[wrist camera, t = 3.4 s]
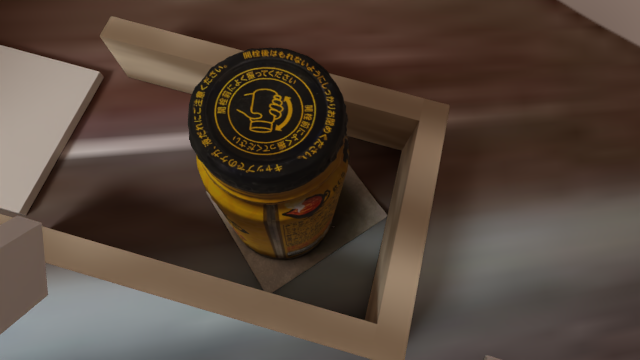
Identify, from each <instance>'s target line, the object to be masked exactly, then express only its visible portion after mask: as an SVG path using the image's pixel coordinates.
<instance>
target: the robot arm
mask: <svg viewBox="0 0 640 360" xmlns="http://www.w3.org/2000/svg"><path fill="white" fill-rule="evenodd" d="M47 295H48V290H47V279H46V267H45V256H44V244H43V233H42V223H40V222H37V221H33V220H30V219H27V218H23V217H20V216H16V217H14V218H12V219H10V220H9V221H7V222H5V223H3V224H1V225H0V334H1V333H3V332H4V331H5V330H6V329H7V328H9V327H10V326H11V325H12V324H13V323H15V322H16V321H17V320H18V319H19V318H21V317H22V316H23V315H24V314H25V313H27V312H28V311H29V310H30V309H32V308H33V307H34V306H35V305H36V304H38V303H39V302H40V301H41V300H42V299H44V298H45V297H46V296H47ZM483 360H501V359H497V358H494V357H491V356H487V355H486V356H485V358H484V359H483Z"/></svg>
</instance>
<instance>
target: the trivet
mask: <svg viewBox="0 0 640 360" xmlns="http://www.w3.org/2000/svg"><path fill="white" fill-rule="evenodd" d="M103 78H104V77H103V75H102V74H101V73H100V72H99V71H95V70H91V69H87V68H84V67H80V66H76V65H73V64H69V63H65V62H62V61H58V60H54V59H50V58H47V57H43V56H39V55H36V54H32V53H28V52H24V51H21V50H17V49H13V48H10V47H6V46H2V45H0V208H1V209H4V210H8V211H11V212H15V213H18V214H21V215H25V216H26V214H27V213H28V211H29V209H30V207H31V206H32V204H33V202H34V200H35V198H36V197H37V195H38V193H39V191H40V190H41V188H42V186H43V184H44V183H45V181H46V179H47V177H48V175H49V174H50V172H51V170H52V168H53V167H54V165H55V163H56V161H57V160H58V158H59V156H60V154H61V152H62V151H63V149H64V147H65V145H66V144H67V142H68V140H69V138H70V137H71V135H72V133H73V131H74V129H75V128H76V126H77V124H78V122H79V121H80V119H81V117H82V115H83V114H84V112H85V110H86V108H87V106H88V105H89V103H90V101H91V99H92V98H93V96H94V94H95V92H96V91H97V89H98V87H99V85H100V83H101V82H102V80H103Z"/></svg>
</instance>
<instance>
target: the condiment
mask: <svg viewBox="0 0 640 360" xmlns="http://www.w3.org/2000/svg"><path fill="white" fill-rule="evenodd" d="M347 122H348V117H347V113H346V105H345V103H344V98H343V95H342V93H341V91H340V89H339V87H338V85H337V84H336V82H335V81H334V80H333V78H332V77H331V76H330V74H329V73H328V72H327V71H326V70H325V69H324V68H323V67H322V66H321V65H320V64H318V63H317V62H315V61H314V60H313V59H311V58H310V57H308V56H306V55H303V54H300V53H297V52H294V51H291V50H288V49H283V48H260V49H248V50H246V51H242V52H239V53H237V54H234V55H232V56H229V57H227V58H226V59H225V60H223V61H221V62H219V63H217V64H216V65H215V66H213V67H211V68H210V70H209V71H208V73H207V74H206V75H205V77H204V78H203V79H202V80H201V82H200V83H199V84H198V85H197V86H195V88H194V90H193V93H192V96H191V99H190V103H189V114H188V127H189V140H190V143H191V146H192V148H193V149H194V151H195V152H196V160H197V166H198V170H199V173H200V176H201V179H202V181H203V184H204V186H205V188H206V193H207V195H208V196H209V198H210V200H211V202H212V203H213V205H214V207H215V209H216V210H217V212H218V213H219V215H220V217H221V218H222V220H223V222H224V223H225V225H226V227H227V229H228V230H229V232H230V234H231V235H232V237H233V239H234V240H235V242H236V244H237V246H238V247H239V249H240V251H241V252H242V254H243V256H244V257H245V259H246V261H247V262H248V264H249V266H250V268H251V270H252V271H253V272H254V274H255V276H256V278H257V280H258V281H259V283H260V285H261V286H262V288H263V290H264V291H265V292H269V293H272V292H274V291H275V290H277V289H278V288H280V287H282V286H283V285H285V284H286V283H288V282H289V281H291V280H292V279H294V278H295V277H297V276H298V275H300V274H301V273H303V272H304V271H306V270H307V269H309V268H310V267H312V266H314V265H315V264H316V263H318V262H319V261H321V260H323V259H324V258H325V257H327V256H328V255H330V254H332V253H333V252H334V251H336V250H337V249H339V248H340V247H342V246H343V245H345V244H346V243H348V242H350V241H351V240H353V239H354V238H356V237H357V236H359V235H360V234H362V233H363V232H365V231H366V230H368V229H369V228H370V227H372V226H373V225H375V224H377V223H378V222H380V221H381V220H383V219H384V218H386V217H387V214H386V213H385V212H384V210H383V209H382V208H381V206H380V205H379V204H378V203H377V202H376V200H375V199H374V197H373V196H372V195H371V194H370V192H369V191H368V189H367V188H366V187H365V185H364V184H363V183H362V182H361V180H360V179H359V178H358V176H357V175H356V173H355V172H354V171H353V169H352V168H351V167H350V165H349V164H348V162H349V144H348V138H347V133H346V132H347ZM332 226H335V227H334V228H333V227H332Z"/></svg>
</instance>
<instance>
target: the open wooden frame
mask: <svg viewBox="0 0 640 360" xmlns="http://www.w3.org/2000/svg"><path fill="white" fill-rule="evenodd" d="M100 37H101V39H102V40H103V41H104V43H105V44H106V46H107V47H108V49H109V50H110V51H111V53H112V54H113V56H114V57H115V59H116V60H117V61H118V63H119V64H120V66H121V67H122V69H123V70H124V72H125V73H126V74H127V76H128V77H131V78H134V79H138V80H142V81H145V82H149V83H153V84H157V85H160V86H164V87H168V88H171V89H175V90H179V91H183V92H186V93H190V94H192V93H193V90H194V88H195V86H197V85H198V84H199V83H200V82H201V80H202V79H203V78H204V77H205V75H206V74H207V73H208V71H209V70H210V68H211V67H213V66H215V65H216V64H217V63H219V62H221V61H223V60H225V59H226V58H227V57H229V56H232V55H234V54H237V53H239V52H242V50H238V49H234V48H230V47H227V46H223V45H219V44H215V43H211V42H208V41H204V40H200V39H196V38H192V37H188V36H185V35H181V34H177V33H173V32H169V31H166V30H162V29H158V28H154V27H150V26H147V25H143V24H139V23H135V22H131V21H127V20H124V19H120V18H116V17H112V16H111V18H110V19H109V21H108V23H107V24H106V26H105V28H104V29H103V31H102V33H101V34H100ZM330 76H331V77H332V78H333V80H334V81H335V82H336V84H337V85H338V87H339V89H340V91H341V93H342V95H343V98H344V103H345V105H346V113H347V117H348V122H347V132H346V133H347V136H350V137H353V138H357V139H361V140H364V141H368V142H372V143H376V144H379V145H383V146H387V147H390V148H394V149H398V150H401V151H402V152H401V157H400V161H399V166H398V170H397V175H396V179H395V184H394V188H393V193H392V197H391V202H390V207H389V211H388V216H387V220H386V225H385V229H384V234H383V238H382V243H381V247H380V252H379V257H378V261H377V266H376V270H375V275H374V279H373V284H372V288H371V293H370V297H369V302H368V307H367V311H366V316H365V320H361V319H358V318H354V317H351V316H348V315H344V314H341V313H337V312H334V311H330V310H327V309H324V308H320V307H317V306H313V305H310V304H306V303H303V302H300V301H296V300H293V299H289V298H286V297H282V296H279V295H276V294H272V293H269V292H265V291H262V290H258V289H255V288H252V287H248V286H245V285H241V284H238V283H234V282H231V281H228V280H224V279H221V278H217V277H214V276H210V275H207V274H204V273H200V272H197V271H193V270H190V269H186V268H183V267H180V266H176V265H173V264H169V263H166V262H163V261H159V260H156V259H152V258H149V257H145V256H142V255H139V254H135V253H132V252H128V251H125V250H121V249H118V248H115V247H111V246H108V245H104V244H101V243H97V242H94V241H91V240H87V239H84V238H80V237H77V236H73V235H70V234H67V233H63V232H60V231H56V230H53V229H49V228H46V227H43V226H42V233H43V244H44V256H45V263H48V264H52V265H55V266H58V267H62V268H65V269H69V270H72V271H75V272H79V273H82V274H85V275H89V276H92V277H96V278H99V279H102V280H106V281H109V282H112V283H116V284H119V285H123V286H126V287H129V288H133V289H136V290H139V291H143V292H146V293H150V294H153V295H156V296H160V297H163V298H166V299H170V300H173V301H177V302H180V303H183V304H187V305H190V306H193V307H197V308H200V309H204V310H207V311H210V312H214V313H217V314H220V315H224V316H227V317H231V318H234V319H237V320H241V321H244V322H247V323H251V324H254V325H258V326H261V327H264V328H268V329H271V330H274V331H278V332H281V333H285V334H288V335H291V336H295V337H298V338H301V339H305V340H308V341H312V342H315V343H318V344H322V345H325V346H328V347H332V348H335V349H339V350H342V351H345V352H349V353H352V354H355V355H359V356H362V357H366V358H369V359H372V360H404V359H405V354H406V348H407V342H408V337H409V331H410V326H411V320H412V315H413V309H414V303H415V298H416V292H417V287H418V281H419V276H420V270H421V264H422V259H423V253H424V248H425V242H426V236H427V231H428V225H429V220H430V214H431V209H432V203H433V197H434V192H435V186H436V181H437V175H438V170H439V164H440V158H441V153H442V147H443V142H444V136H445V130H446V125H447V119H448V114H449V108H450V105H448V104H444V103H440V102H436V101H432V100H429V99H425V98H421V97H417V96H413V95H410V94H406V93H402V92H398V91H394V90H390V89H387V88H383V87H379V86H375V85H371V84H368V83H364V82H360V81H356V80H352V79H349V78H345V77H341V76H337V75H333V74H330ZM10 219H12V217H8V216H5V215H1V214H0V225H1V224H3V223H5V222H7V221H9V220H10Z"/></svg>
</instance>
